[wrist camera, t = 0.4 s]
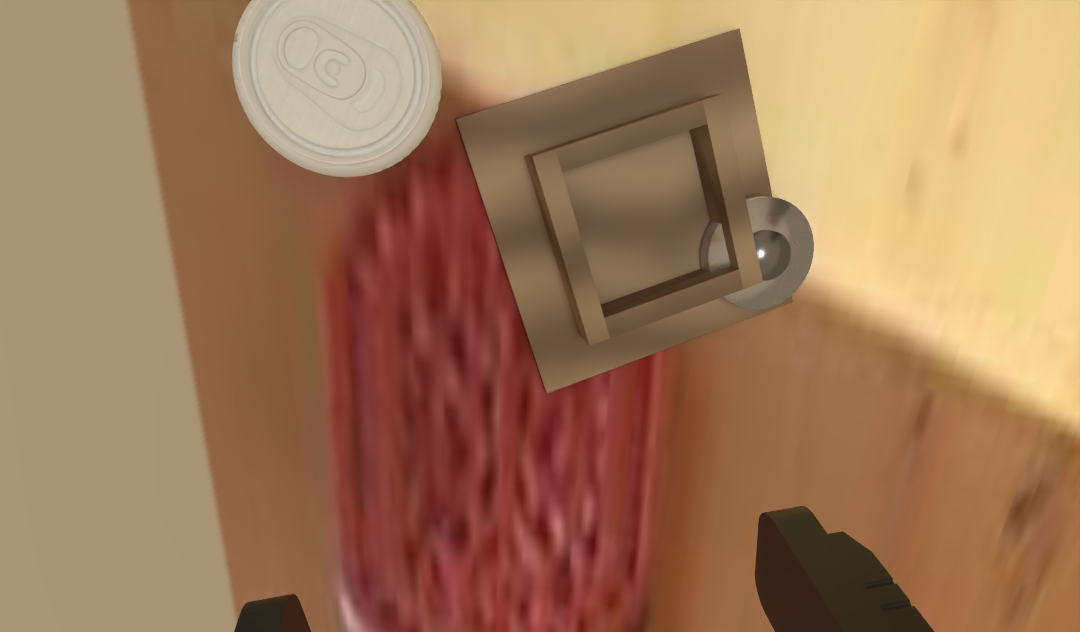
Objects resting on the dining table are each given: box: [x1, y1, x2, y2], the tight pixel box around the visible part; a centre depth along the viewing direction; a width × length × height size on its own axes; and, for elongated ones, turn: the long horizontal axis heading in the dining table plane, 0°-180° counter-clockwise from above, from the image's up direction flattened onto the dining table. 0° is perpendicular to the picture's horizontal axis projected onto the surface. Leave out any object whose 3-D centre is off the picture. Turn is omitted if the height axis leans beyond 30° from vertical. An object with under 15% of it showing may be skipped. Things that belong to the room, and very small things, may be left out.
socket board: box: [455, 29, 793, 393], centre depth 36 cm, size 16×16×3 cm
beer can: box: [232, 0, 442, 177], centre depth 26 cm, size 6×6×15 cm
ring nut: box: [699, 196, 814, 309], centre depth 38 cm, size 6×6×3 cm
